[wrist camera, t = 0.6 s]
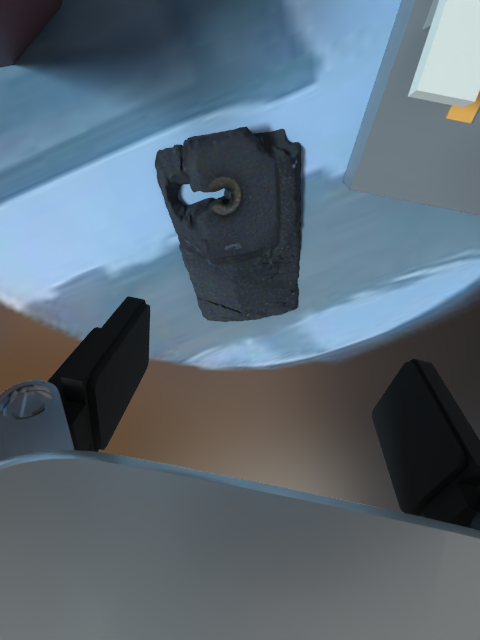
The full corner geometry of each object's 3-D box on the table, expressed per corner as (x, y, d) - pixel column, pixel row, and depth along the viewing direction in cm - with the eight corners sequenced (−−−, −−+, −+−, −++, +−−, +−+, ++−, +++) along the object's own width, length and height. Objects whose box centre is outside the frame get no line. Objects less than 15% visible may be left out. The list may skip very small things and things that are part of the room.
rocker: (473, -104, 18) (489, -127, 17) (538, -90, 18) (560, -113, 17) (407, 96, 22) (416, 90, 21) (462, 107, 22) (475, 101, 21)
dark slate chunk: (192, 316, 44) (184, 336, 40) (152, 138, 32) (134, 141, 28) (301, 312, 41) (304, 333, 38) (302, 119, 30) (306, 119, 26)
